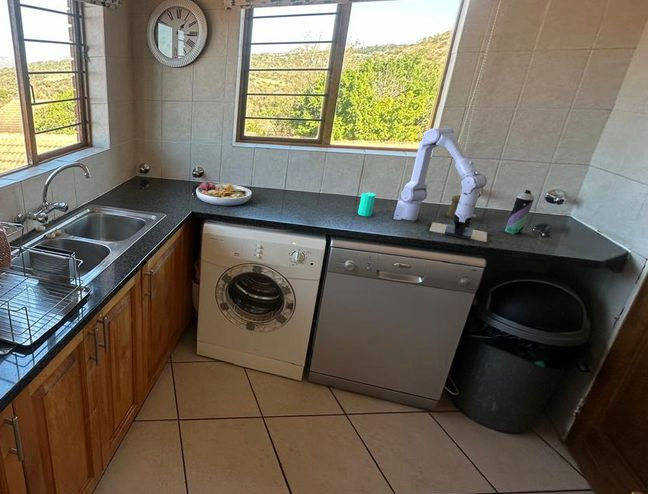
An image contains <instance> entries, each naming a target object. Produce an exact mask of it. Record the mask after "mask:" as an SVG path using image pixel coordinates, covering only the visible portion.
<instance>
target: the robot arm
mask: <svg viewBox="0 0 648 494" xmlns="http://www.w3.org/2000/svg"><path fill="white" fill-rule="evenodd" d="M457 136H458V135H457V134H456V133H455V130H454V129H453V128H451V127H442V128H435V127H432V128H429V129H428V130H426V131H424V134H423V137H422V139H421V140H420V141H419V143H418V148H417V152H416V156H415V161H414V165H413V169H412V173H411V174H412V175H411V178H410V181H409V182H407V183H406V184H405V185H404V187H403V190H402V191H401V193H400V198H401V199H398V200H397V204H396V207H395V211H394V213H393V214H394V216H393V220H397V221H401V220H402V219H403V220H406V221H417V220H418V215H419V213H420V208H421V204H422V203H423V201H425V200H426V199H427V197H428V191H427V190H428V185H427V184H426V179H427V174H428V171H429V166H430V161H431V158H432V153H433V150H434V149H436V148H437V147H438V146H440V147H444V148H445V149H446V150H447V151H448V153H449V155H450V156H451V157H452V158H453V160H454V161H455V164H454V168H455V169H456V171H457V173H458V174H459V176H460V178H461V181H460V184H461V194H460V196H461V197H460V200H459V203H458V206H457V210H456V212H455V214H456V215H455V217H453V223H454V225H455V230H454V235H457V236H461V234H462V233H463V231H464V229H465V228H466V227H467V228H468V226H469V225H470V224H471V221H470V220H472V218H476V217H477V214H474V211H475V209H476V206H477V203H478V199H479V196H480V194H481V191H482V189H483V188H484V187H486V185H487V183H488V180H487V177H486V175H485V174H482V173H480V171H479V170H478V169H477V168H476V166H475V162H474V160H472V159H471V158H469V157H468V158H467V157H466V156H465V154H464V152H463V150H462V147H461V145H460V143H459V142H458V140H457Z"/></svg>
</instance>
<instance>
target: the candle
mask: <svg viewBox="0 0 648 494" xmlns="http://www.w3.org/2000/svg"><path fill="white" fill-rule="evenodd" d="M376 196H377V194H376V193H374V192H370V191H368V192H362V193H361V195H360V201H359V206H358V209H357V214H358V215H359V216H362V217H371V216H372V213H373V209H374V204H375V199H376Z"/></svg>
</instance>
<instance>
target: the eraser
mask: <svg viewBox="0 0 648 494" xmlns="http://www.w3.org/2000/svg"><path fill="white" fill-rule="evenodd" d="M446 225H447V226H446V230H445V233H443V234H444V235H447V236H452V237H456V238H461V239H468V240H471V239H470V238H471V235H472V232H473V230H474V228H473V227H468V226H467V227H466V228H465V229H464V231H463V233H462V234H461V236H457V235H454V230H455V224H451V223H447V224H446Z"/></svg>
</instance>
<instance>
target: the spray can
mask: <svg viewBox="0 0 648 494" xmlns="http://www.w3.org/2000/svg"><path fill="white" fill-rule="evenodd" d="M534 201H535V196H534V195H533V194H532V191H531V190H530V189H525V191H523V192H522V193H518V194H517V196H516V199H515V202H514V204H513V207H512V209H511V213H510V215H509V218H508V221H507V223H506V227H505V229H504V232H506V233H509V234H511V235H521V234H522V232H523V230H524V228H525V225H526V222H527V219H528V217H529V214H530V211H531V209H532V206H533V203H534Z"/></svg>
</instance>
